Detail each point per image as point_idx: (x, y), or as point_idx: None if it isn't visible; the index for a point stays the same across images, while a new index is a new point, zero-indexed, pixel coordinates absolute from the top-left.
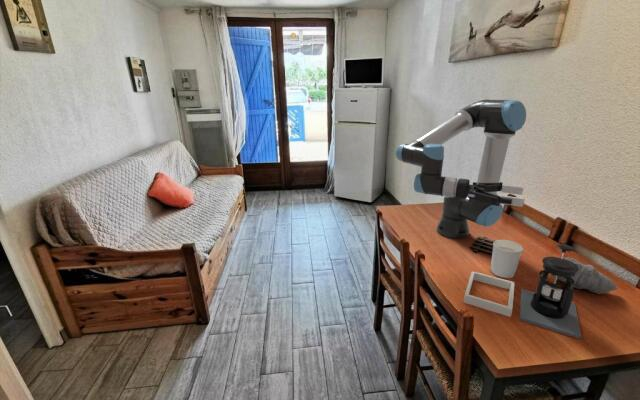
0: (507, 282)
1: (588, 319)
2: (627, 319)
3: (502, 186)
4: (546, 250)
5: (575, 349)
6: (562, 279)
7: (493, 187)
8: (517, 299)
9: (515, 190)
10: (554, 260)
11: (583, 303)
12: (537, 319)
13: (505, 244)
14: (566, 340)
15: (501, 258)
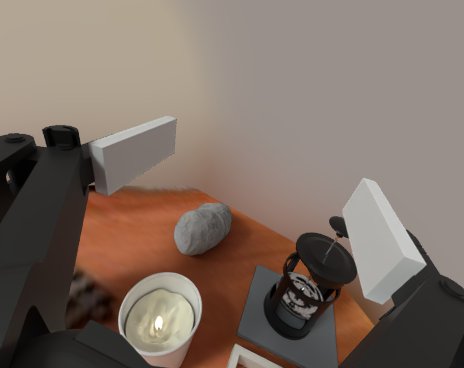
0: (236, 363)
1: (281, 266)
2: (264, 229)
3: (103, 156)
4: (93, 218)
5: (356, 318)
6: (210, 248)
7: (70, 206)
8: (267, 357)
9: (157, 146)
10: (321, 258)
11: (246, 252)
12: (326, 346)
13: (128, 304)
14: (344, 321)
15: (186, 348)
